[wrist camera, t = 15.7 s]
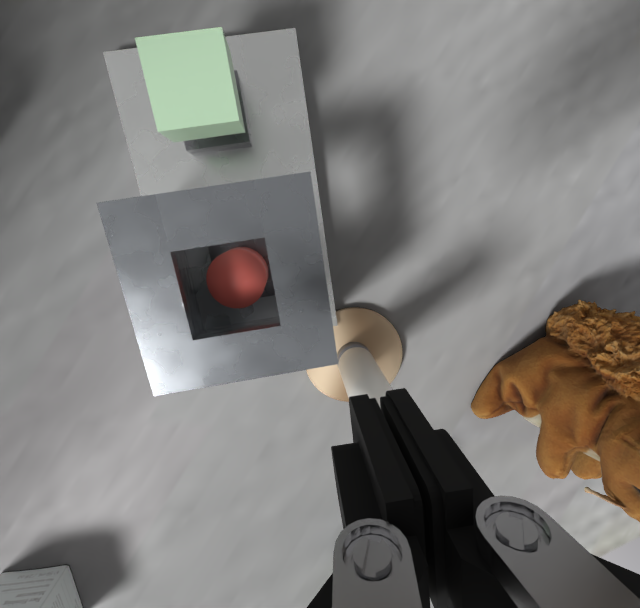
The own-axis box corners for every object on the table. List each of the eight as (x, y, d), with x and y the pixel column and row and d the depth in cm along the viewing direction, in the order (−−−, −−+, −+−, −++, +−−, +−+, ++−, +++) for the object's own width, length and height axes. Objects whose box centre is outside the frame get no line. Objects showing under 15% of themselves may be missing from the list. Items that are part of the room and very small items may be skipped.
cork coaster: (312, 405, 30) (312, 409, 29) (296, 316, 28) (297, 318, 27) (404, 389, 30) (406, 392, 29) (395, 299, 28) (397, 301, 27)
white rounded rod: (334, 344, 28) (366, 435, 16) (368, 339, 28) (425, 424, 16) (338, 376, 29) (372, 485, 17) (372, 370, 29) (429, 474, 17)
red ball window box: (185, 346, 27) (137, 407, 19) (111, 59, 23) (-4, -43, 14) (335, 321, 28) (357, 369, 19) (295, 35, 23) (298, -77, 14)
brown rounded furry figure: (461, 412, 31) (580, 547, 18) (543, 268, 29) (747, 308, 16) (550, 446, 33) (715, 590, 20) (635, 312, 30) (886, 381, 18)
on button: (181, 147, 21) (157, 131, 17) (164, 72, 20) (134, 37, 16) (248, 138, 21) (239, 120, 17) (234, 63, 20) (221, 26, 16)
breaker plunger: (226, 296, 25) (213, 312, 21) (216, 249, 24) (200, 255, 20) (273, 288, 25) (270, 303, 21) (264, 241, 24) (259, 246, 20)
